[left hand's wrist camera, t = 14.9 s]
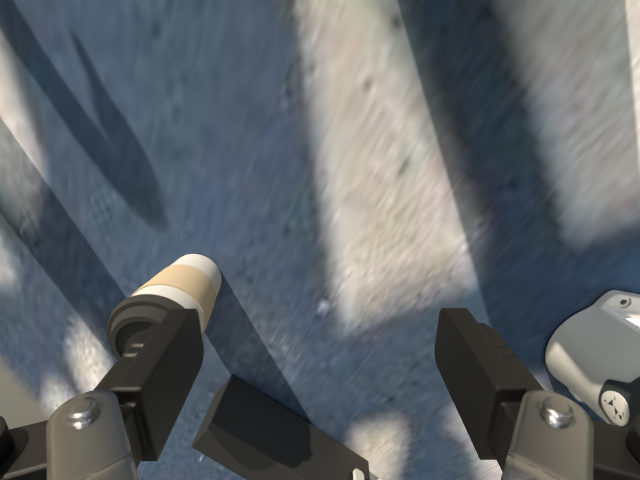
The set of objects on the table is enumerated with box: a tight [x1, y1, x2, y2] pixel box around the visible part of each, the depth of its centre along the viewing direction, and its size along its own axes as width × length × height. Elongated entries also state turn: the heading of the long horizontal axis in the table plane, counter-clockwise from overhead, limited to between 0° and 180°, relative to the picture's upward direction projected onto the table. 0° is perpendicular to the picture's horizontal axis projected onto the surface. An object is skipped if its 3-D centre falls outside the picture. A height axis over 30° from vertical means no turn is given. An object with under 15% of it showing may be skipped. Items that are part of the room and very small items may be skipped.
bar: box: [192, 375, 370, 480], centre depth 51 cm, size 27×5×9 cm, turn 52°
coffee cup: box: [107, 254, 222, 360], centre depth 39 cm, size 9×9×15 cm
